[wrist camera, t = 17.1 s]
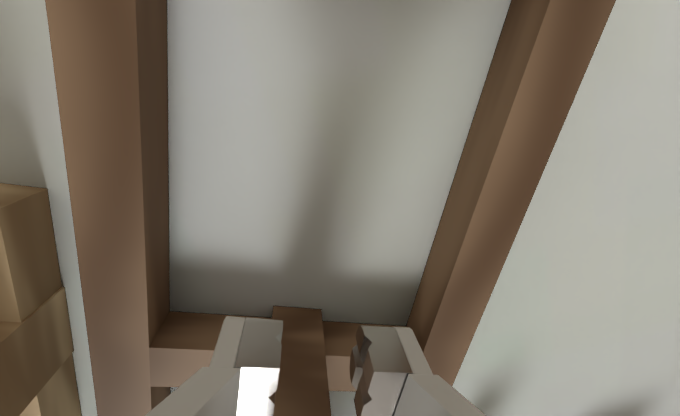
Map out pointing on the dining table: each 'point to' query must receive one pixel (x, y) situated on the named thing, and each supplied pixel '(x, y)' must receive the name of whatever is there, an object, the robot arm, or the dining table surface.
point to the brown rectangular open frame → (298, 323)
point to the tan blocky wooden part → (33, 311)
